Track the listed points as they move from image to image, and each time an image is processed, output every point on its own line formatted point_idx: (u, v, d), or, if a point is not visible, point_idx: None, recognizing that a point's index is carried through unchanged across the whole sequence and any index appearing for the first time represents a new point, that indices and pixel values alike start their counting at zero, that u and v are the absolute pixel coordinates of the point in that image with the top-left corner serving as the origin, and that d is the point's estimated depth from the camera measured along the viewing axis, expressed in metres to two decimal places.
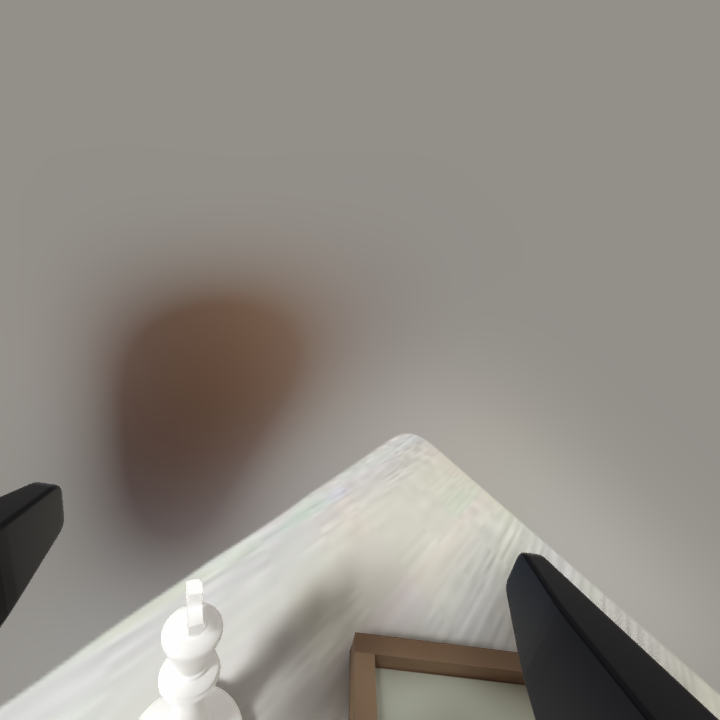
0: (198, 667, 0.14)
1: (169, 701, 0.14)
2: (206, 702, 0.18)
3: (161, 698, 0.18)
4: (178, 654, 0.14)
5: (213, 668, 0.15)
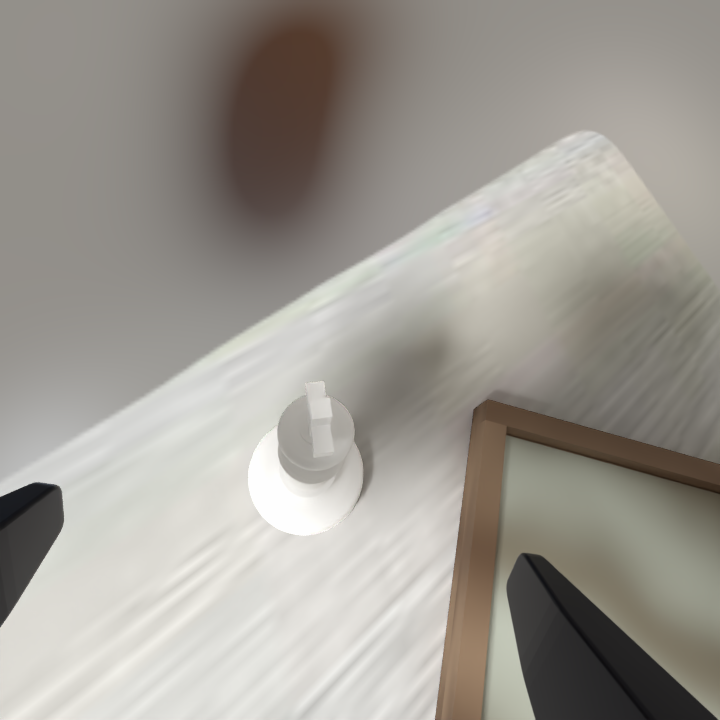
0: None
1: (292, 477, 0.12)
2: None
3: None
4: (300, 463, 0.10)
5: None
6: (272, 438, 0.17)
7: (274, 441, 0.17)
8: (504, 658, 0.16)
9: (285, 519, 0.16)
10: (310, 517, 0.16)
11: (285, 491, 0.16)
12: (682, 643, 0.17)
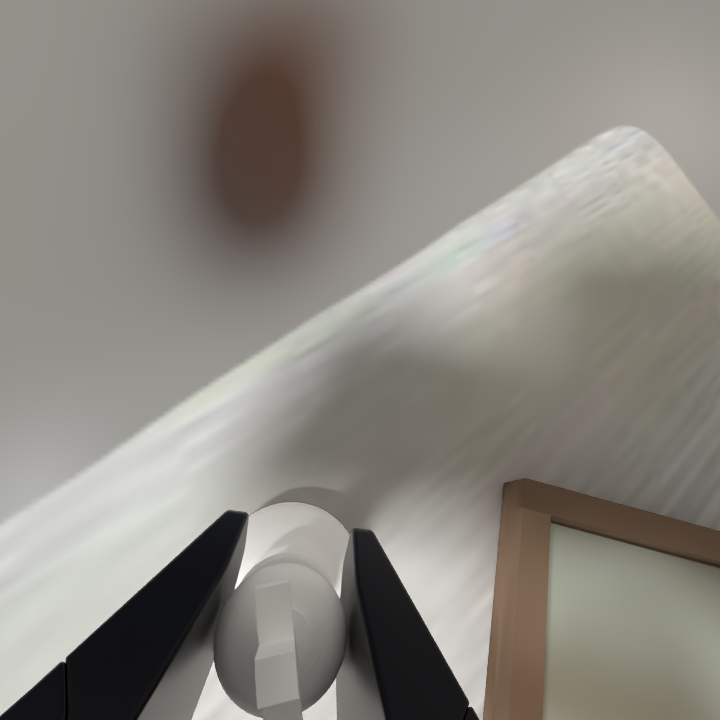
0: None
1: None
2: (312, 539, 0.13)
3: (253, 520, 0.13)
4: (251, 709, 0.06)
5: None
6: None
7: None
8: None
9: None
10: None
11: None
12: None
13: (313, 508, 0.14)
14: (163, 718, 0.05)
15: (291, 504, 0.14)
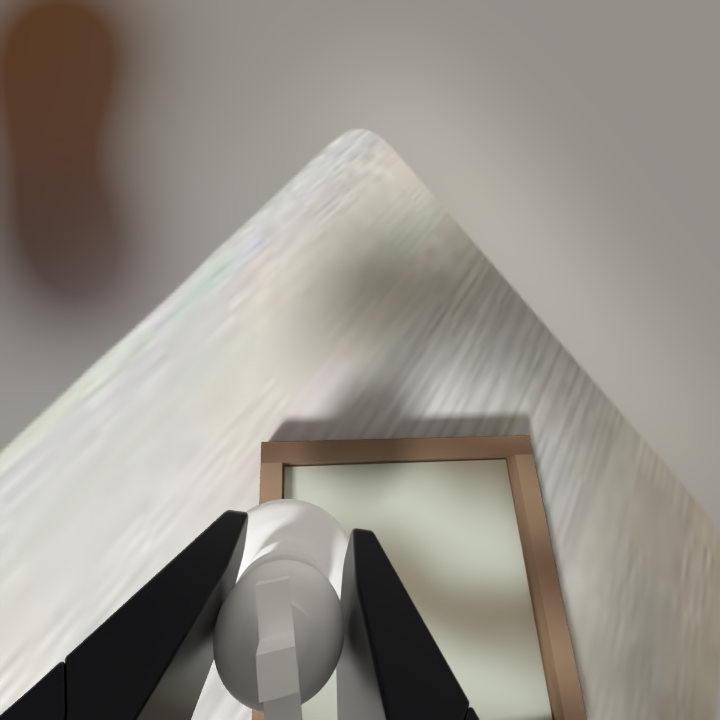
0: None
1: None
2: (308, 536, 0.13)
3: (249, 517, 0.13)
4: (251, 703, 0.06)
5: None
6: None
7: None
8: None
9: None
10: None
11: None
12: (466, 604, 0.20)
13: (309, 505, 0.14)
14: (163, 718, 0.05)
15: (286, 500, 0.14)
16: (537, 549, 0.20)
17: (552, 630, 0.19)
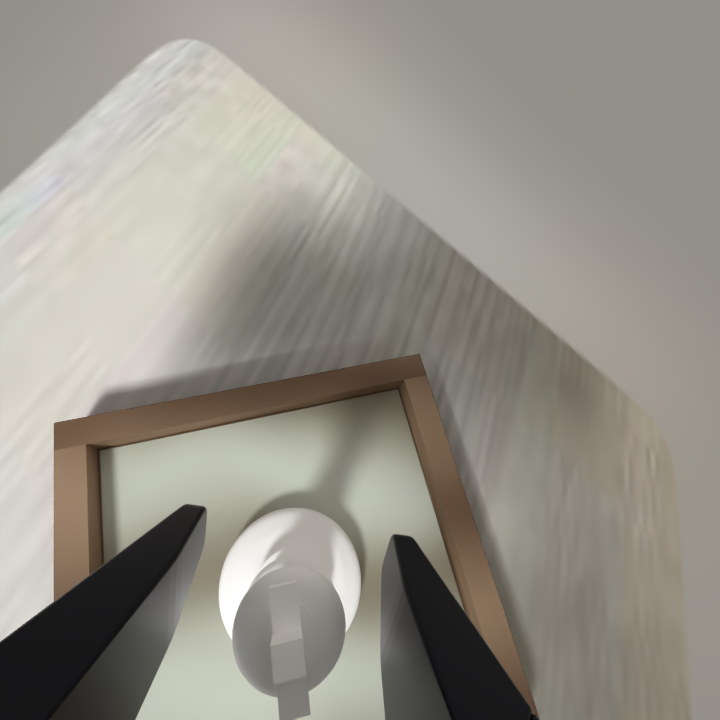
0: None
1: None
2: (314, 542, 0.14)
3: (259, 525, 0.14)
4: (265, 690, 0.07)
5: None
6: (248, 542, 0.14)
7: (250, 547, 0.14)
8: None
9: None
10: None
11: None
12: (364, 575, 0.15)
13: (315, 513, 0.15)
14: (95, 711, 0.05)
15: (294, 509, 0.15)
16: (443, 488, 0.16)
17: (473, 584, 0.15)
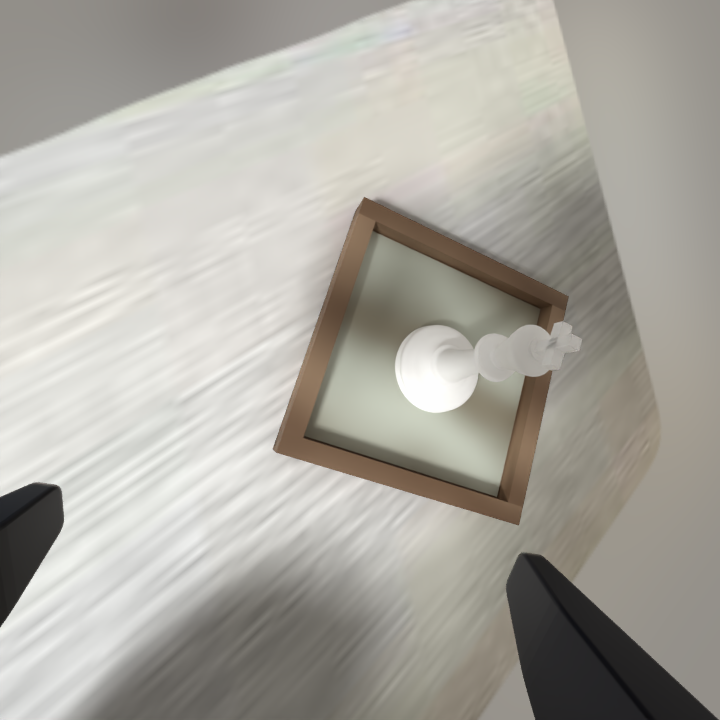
0: (513, 370, 0.17)
1: (477, 366, 0.18)
2: None
3: (440, 327, 0.23)
4: (518, 363, 0.15)
5: (511, 369, 0.18)
6: (432, 332, 0.23)
7: (433, 334, 0.22)
8: (340, 383, 0.22)
9: (415, 388, 0.22)
10: (430, 397, 0.22)
11: (426, 371, 0.22)
12: None
13: (469, 342, 0.23)
14: None
15: (459, 332, 0.23)
16: (539, 376, 0.24)
17: (527, 431, 0.24)
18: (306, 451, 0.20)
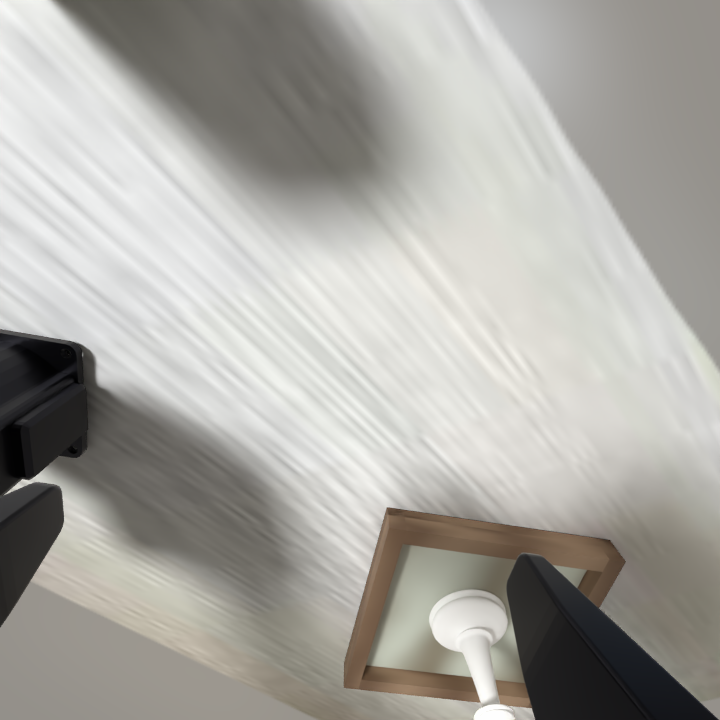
0: None
1: (485, 707, 0.21)
2: None
3: (505, 624, 0.26)
4: None
5: None
6: (501, 620, 0.26)
7: (499, 621, 0.26)
8: (449, 553, 0.25)
9: (450, 613, 0.25)
10: (444, 624, 0.26)
11: (467, 622, 0.25)
12: None
13: (494, 643, 0.27)
14: None
15: None
16: (468, 693, 0.28)
17: (420, 688, 0.28)
18: (391, 547, 0.23)
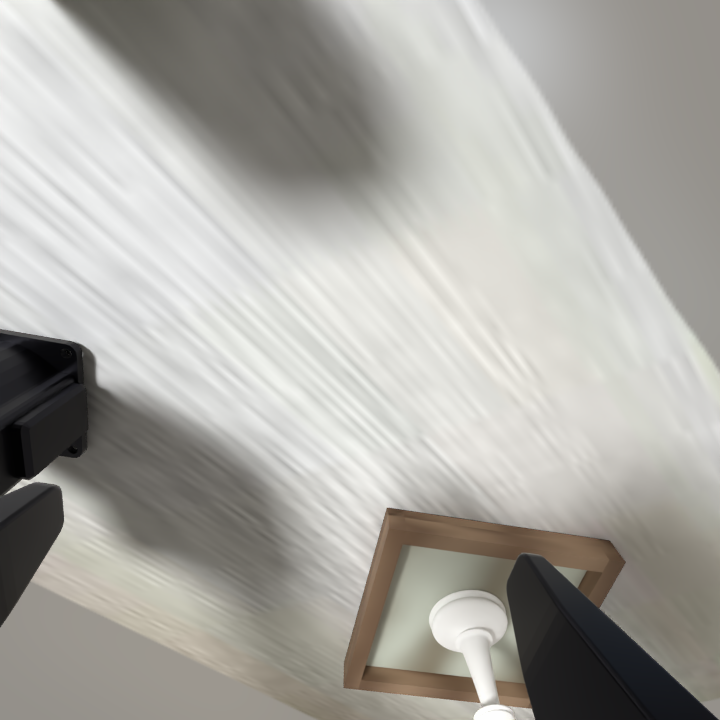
0: None
1: (485, 708, 0.21)
2: None
3: (505, 625, 0.26)
4: None
5: None
6: (501, 620, 0.26)
7: (499, 622, 0.26)
8: (449, 554, 0.25)
9: (450, 614, 0.25)
10: (444, 625, 0.26)
11: (466, 623, 0.25)
12: None
13: (493, 644, 0.27)
14: None
15: (501, 637, 0.26)
16: (467, 694, 0.28)
17: (420, 688, 0.28)
18: (391, 547, 0.23)
